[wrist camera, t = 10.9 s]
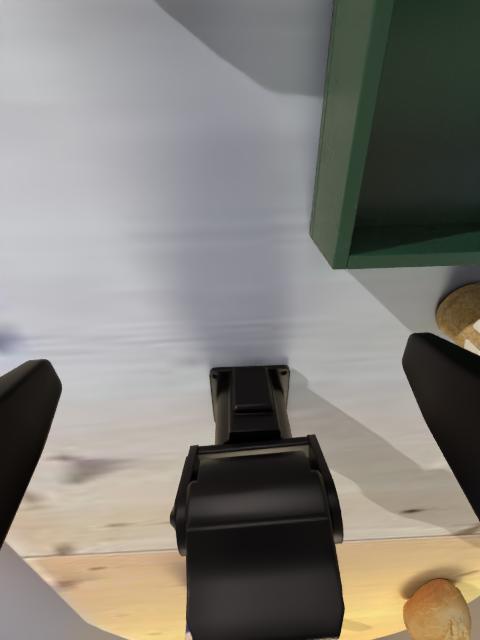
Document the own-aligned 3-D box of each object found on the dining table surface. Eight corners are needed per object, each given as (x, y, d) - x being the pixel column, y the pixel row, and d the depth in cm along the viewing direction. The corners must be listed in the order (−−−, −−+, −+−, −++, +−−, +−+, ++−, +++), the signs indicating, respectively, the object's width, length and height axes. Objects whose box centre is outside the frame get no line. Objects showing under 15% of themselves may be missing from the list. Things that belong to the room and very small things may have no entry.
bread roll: (386, 604, 61) (405, 664, 55) (411, 575, 53) (437, 642, 46) (433, 602, 62) (458, 661, 55) (465, 574, 53) (499, 639, 47)
